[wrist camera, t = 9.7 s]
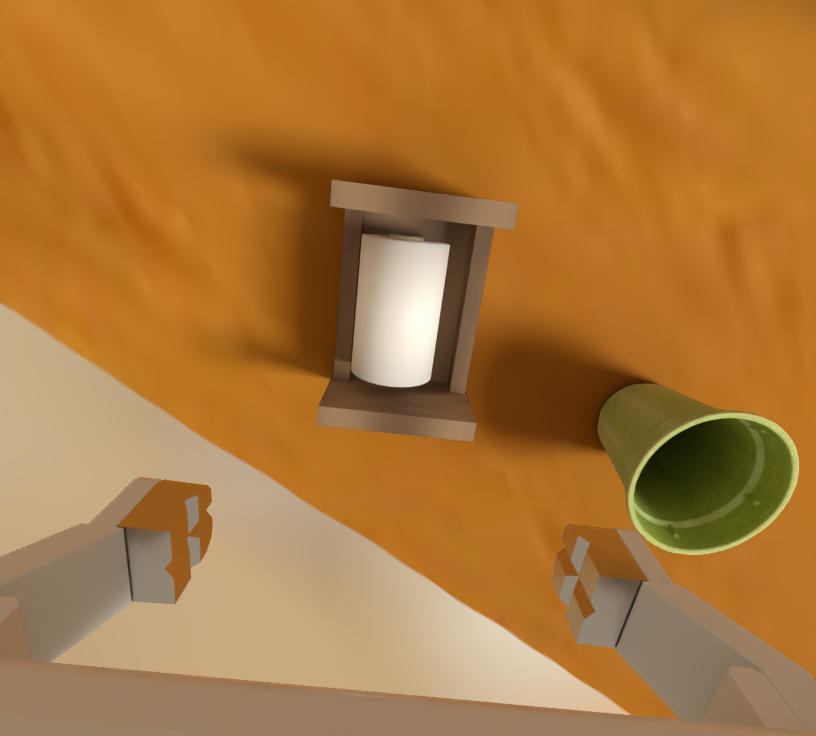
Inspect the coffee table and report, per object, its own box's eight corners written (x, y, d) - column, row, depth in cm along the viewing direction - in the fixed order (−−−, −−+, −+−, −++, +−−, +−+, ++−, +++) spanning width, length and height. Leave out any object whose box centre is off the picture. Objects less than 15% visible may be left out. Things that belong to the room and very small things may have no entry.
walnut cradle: (492, 205, 28) (518, 203, 21) (459, 394, 32) (473, 441, 26) (349, 186, 28) (331, 179, 21) (335, 380, 32) (317, 425, 25)
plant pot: (727, 416, 33) (832, 484, 25) (625, 495, 35) (692, 581, 27) (650, 333, 31) (738, 378, 23) (547, 423, 33) (594, 493, 25)
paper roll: (380, 229, 28) (347, 230, 23) (458, 240, 27) (439, 243, 22) (368, 356, 31) (337, 378, 26) (438, 371, 29) (418, 397, 25)
